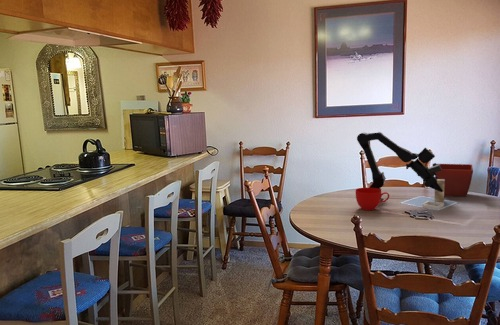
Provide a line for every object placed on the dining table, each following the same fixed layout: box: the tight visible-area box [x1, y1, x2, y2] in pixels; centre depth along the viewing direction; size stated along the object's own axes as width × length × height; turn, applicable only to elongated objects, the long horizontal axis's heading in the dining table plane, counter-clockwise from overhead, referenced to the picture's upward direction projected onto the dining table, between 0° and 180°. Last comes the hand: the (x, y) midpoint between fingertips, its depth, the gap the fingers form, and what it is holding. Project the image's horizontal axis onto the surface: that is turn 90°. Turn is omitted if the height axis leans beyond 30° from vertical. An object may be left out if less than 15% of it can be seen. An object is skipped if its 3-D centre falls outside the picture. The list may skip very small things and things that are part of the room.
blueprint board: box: [399, 195, 460, 212], centre depth 208 cm, size 22×22×1 cm
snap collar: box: [422, 201, 444, 209], centre depth 201 cm, size 8×8×2 cm
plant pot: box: [434, 163, 474, 198], centre depth 224 cm, size 19×19×17 cm
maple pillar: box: [433, 179, 445, 203], centre depth 207 cm, size 4×4×12 cm
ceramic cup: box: [355, 187, 390, 211], centre depth 204 cm, size 13×17×10 cm
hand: (442, 190), depth 207 cm, fingers closed on maple pillar, 4 cm apart
